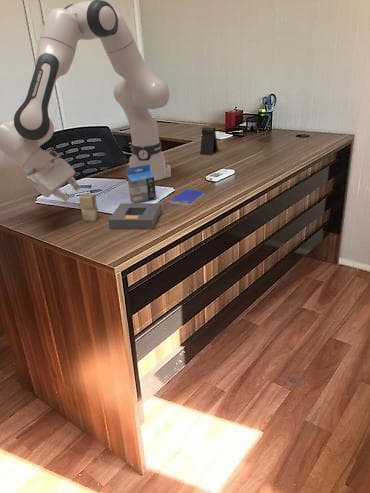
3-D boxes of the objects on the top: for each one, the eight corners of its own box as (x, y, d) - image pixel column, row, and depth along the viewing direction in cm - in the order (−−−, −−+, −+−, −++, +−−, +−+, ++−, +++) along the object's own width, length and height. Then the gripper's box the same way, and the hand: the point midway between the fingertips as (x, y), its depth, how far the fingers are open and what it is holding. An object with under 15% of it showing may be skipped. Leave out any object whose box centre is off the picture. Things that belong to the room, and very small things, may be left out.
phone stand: (211, 155, 206) (210, 130, 201) (200, 154, 209) (199, 129, 203) (218, 150, 213) (217, 126, 208) (207, 149, 216) (206, 125, 210)
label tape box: (133, 204, 153) (129, 170, 148) (130, 200, 157) (126, 168, 151) (156, 199, 156) (153, 166, 151) (152, 196, 160) (149, 163, 154)
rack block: (121, 211, 148) (120, 203, 146) (161, 211, 145) (160, 203, 144) (109, 228, 135) (108, 219, 134) (152, 228, 133) (151, 219, 132)
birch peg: (87, 215, 146) (83, 193, 142) (98, 216, 145) (95, 193, 142) (83, 220, 142) (79, 197, 139) (94, 220, 142) (90, 197, 138)
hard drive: (189, 202, 149) (204, 191, 158) (169, 200, 152) (185, 189, 162) (189, 207, 149) (204, 195, 159) (169, 204, 153) (185, 193, 163)
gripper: (29, 167, 127) (66, 199, 130) (57, 150, 145) (89, 177, 148) (18, 182, 130) (55, 212, 133) (47, 163, 148) (79, 190, 151)
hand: (73, 194), depth 141 cm, fingers open, 8 cm apart
